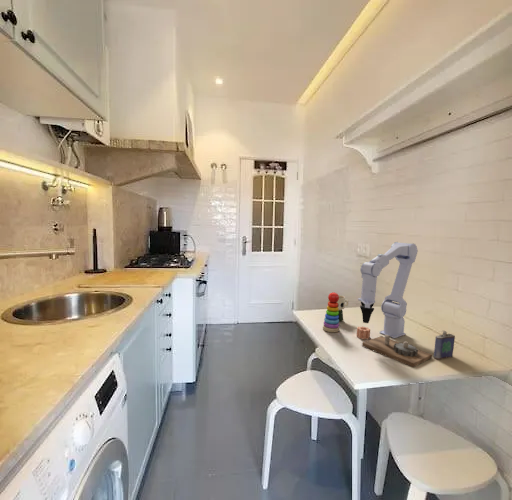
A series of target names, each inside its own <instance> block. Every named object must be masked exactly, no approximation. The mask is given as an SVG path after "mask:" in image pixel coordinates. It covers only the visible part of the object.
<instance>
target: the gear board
mask: <svg viewBox="0 0 512 500" xmlns="http://www.w3.org/2000/svg"><path fill="white" fill-rule="evenodd" d="M361 346H362V347H364V348H366V347H367V349H368V348H369V350H371V351H373V350H374V351H373V352H375V353H378V354H380V355H383V356H385V357H388V358H390V359H392V360H394V361H397V362H400V363H402V364H404V365H408V366H409V367H412V368H414V367H417V366H418V365H421V364H423V363H425V362H426V361H428V360H431V359H432V358H433V354H432V353H428V352H426V351H424V350H421V349H419V348H417V347H416V346H414V345H413V344H409V342H408V341H403V343H402V342H399V341H397V340H394V339H391V337H390V336H389V335H385V336H383V335H380V336H377V337H375V338H371V339H367V340H366V341H363V342H362V343H361Z"/></svg>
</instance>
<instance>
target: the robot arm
mask: <svg viewBox="0 0 512 500" xmlns="http://www.w3.org/2000/svg"><path fill="white" fill-rule="evenodd" d="M418 252H419V251H418V247H417V245H416V243H413V242H412V243H408V242H398V241H395V242H394V243H392V244H391V246H390V248H389V249H388V250H387V251H385V253H384V254H383V253H381V254H380V253H377V256H375V257H373V258H372V259H371V260H370V261H365V262H363V263H362V264H361V267H360V273H361V278H362V280H361V281H362V282H361V283H362V284H361V295H360V297H359V298H357V300H358V301H360V304H361V305H360V306H359V307H360V308H359V309H360V310H361V316H362V323H364V324H369V323H370V320H371V316H372V314H373V313H374V310H375V308H374V305H375V303H376V290H377V281H378V277H379V276H380V274H381V273H382V271H383V269H384V268H385V267H387V266H388V265H389V264H390V260H393V259H396V260H397V261H398V262H399V266H398V268H397V273H396V276H395V278H394V283H393V286H392V289H391V292H390V294H388V295H386V296H385V297H384V299H383V301H382V303H381V305H380V310H381V312H382V313H383V315H384V319H383V330H381V331H379V334H382V335H389V336H390V338H393V339H396V338H399V337H402V336H404V335H406V334H407V333H405V322H406V321H405V318H404V317H405V316H406V314H407V305H408V303H407V302H406V299H404V298H403V297H404V294H405V291H406V290H405V289H406V287H407V284H408V280H409V277H410V272H411V269H412V267H413V264H414V263H415V261H416V258H417V255H418Z"/></svg>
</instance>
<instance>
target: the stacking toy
mask: <svg viewBox="0 0 512 500" xmlns="http://www.w3.org/2000/svg"><path fill="white" fill-rule="evenodd" d="M338 295H339V294H338V293H337V292H330V293H329V294H328V296H327V298H328V299H327V300H329V301H330V302H328V301H327V306H326V309H327V310H325V311H326V312H325V315H324V316H325V317H324V319H323V326H322V329H323V331H326V332H327V333H338V332H339V331H340V321H339V319H338V318H339V316H338V314H339V312H338V310H339V308H338V303H337V301H338V300H339V296H338Z"/></svg>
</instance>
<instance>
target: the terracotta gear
mask: <svg viewBox="0 0 512 500" xmlns="http://www.w3.org/2000/svg"><path fill="white" fill-rule="evenodd" d="M356 337H358V339H362V340H370V338H371V328H369V327H365V326H362V325H361V326H357V328H356Z"/></svg>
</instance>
